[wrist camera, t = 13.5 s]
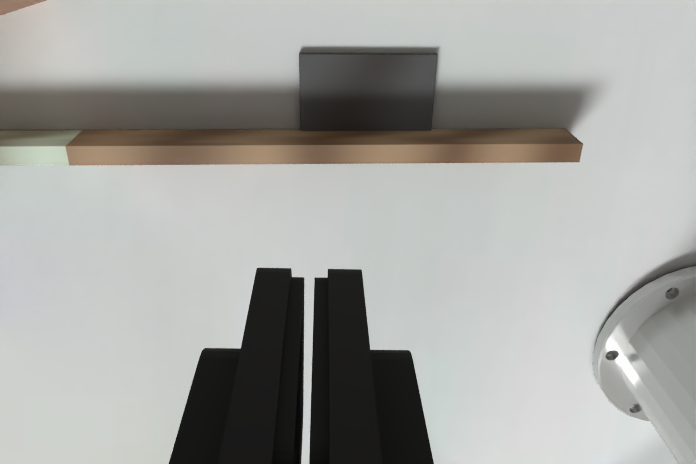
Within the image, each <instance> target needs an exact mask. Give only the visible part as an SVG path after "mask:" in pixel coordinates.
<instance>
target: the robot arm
mask: <svg viewBox="0 0 696 464" xmlns="http://www.w3.org/2000/svg"><path fill="white" fill-rule="evenodd" d="M593 368H594V374H595V378H596V380H597V382H598V384H599V386H600V388H601V390H602V391H603V393H604V394H605V396H606V397H607V399H608V400H609V402H610V403H612V404H613V405H614V406H615V407H616V408H617V409H618V410H620V411H621V412H623V413H625V414H627V415H629V416H631V417H634V418H638V419H641V420H644V421H650V422H651V424H652V425H653V427H654V428H655V430H656V431H657V433H658V434H659V436H660V437H661V439H662V440H663V442H664V443H665V445H666V446H667V448H668V449H669V451H670V452H671V454H672V455H673V457H674V458H675V460H676V461H677V463H678V464H696V266H694V267H688V268H684V269H681V270H678V271H675V272H672V273H669V274H666V275H664V276H662V277H660V278H658V279H656V280H654V281H652V282H650V283H648V284H646V285H645V286H643V287H642V288H640V289H639V290H638V291H636V292H635V293H633V294H632V295H631V296H629V297H628V298H627V299H626V300H625V301H624V302H623V303H622V304H621V305H620V306H619V307H617V309H616V310H615V311H614V312H613V314H612V315H611V316H610V317H609V319H608V320H607V321H606V323H605V325H604V327H603V328H602V330H601V332H600V334H599V336H598V339H597V342H596V345H595V348H594V355H593ZM303 370H304V278H302V277H292V274H291V268H257V270H256V275H255V280H254V285H253V290H252V295H251V300H250V305H249V310H248V315H247V321H246V326H245V331H244V336H243V341H242V346H241V349H224V348H205V349H204V350H203V351H202V353H201V355H200V358H199V361H198V365H197V368H196V372H195V375H194V379H193V382H192V386H191V389H190V393H189V396H188V399H187V403H186V406H185V410H184V413H183V417H182V420H181V424H180V427H179V431H178V434H177V437H176V441H175V444H174V448H173V451H172V455H171V458H170V462H169V464H301V452H302V430H303ZM310 464H434V463H433V458H432V453H431V448H430V443H429V438H428V433H427V428H426V423H425V418H424V413H423V408H422V403H421V398H420V394H419V389H418V384H417V379H416V374H415V369H414V364H413V359H412V355H411V353H410V351H409V350H370V344H369V335H368V325H367V316H366V307H365V297H364V288H363V278H362V270H352V269H328V278H315V288H314V322H313V357H312V392H311V426H310Z"/></svg>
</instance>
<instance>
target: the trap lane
mask: <svg viewBox="0 0 696 464" xmlns="http://www.w3.org/2000/svg"><path fill="white" fill-rule="evenodd" d="M436 62H437V54H352V53H299V73H300V116H301V129H261V130H0V166H42V165H200V164H358V163H516V162H579V161H580V156H581V151H582V146H583V143H581V142H580V141H579V140H578V139H577V138H576V137H574V136H573V135H572V134H571V133H570V132H568V131H567V130H566V129H431V123H432V111H433V99H434V87H435V74H436Z"/></svg>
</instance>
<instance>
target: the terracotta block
mask: <svg viewBox="0 0 696 464" xmlns="http://www.w3.org/2000/svg"><path fill="white" fill-rule="evenodd" d="M43 1H46V0H0V15H3V14H6V13H9V12H12V11H15V10H18V9H21V8H24V7H27V6H30V5H33V4H36V3H40V2H43Z"/></svg>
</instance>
